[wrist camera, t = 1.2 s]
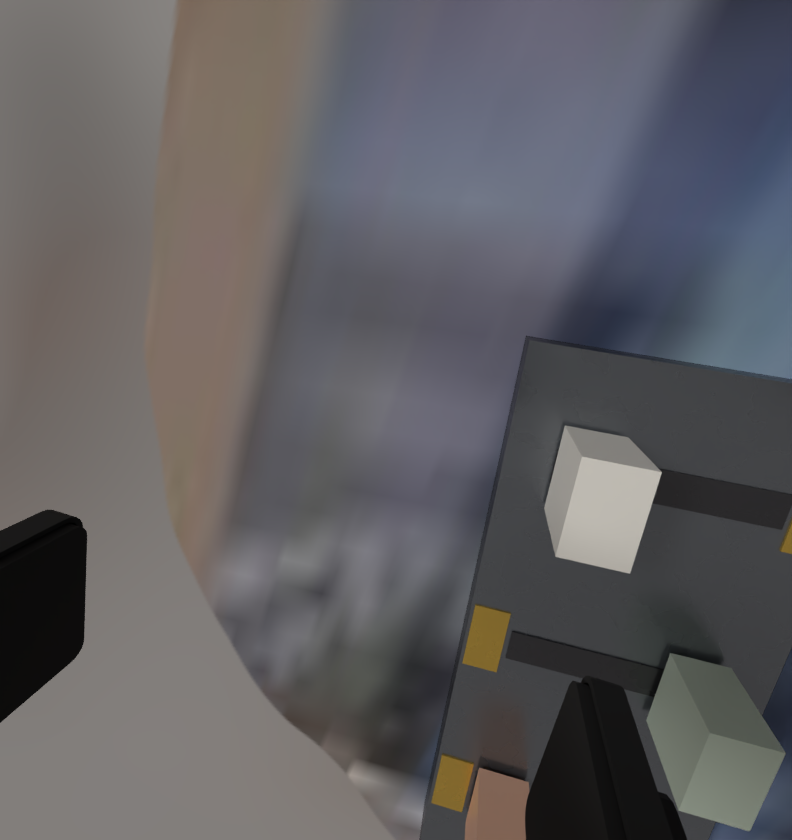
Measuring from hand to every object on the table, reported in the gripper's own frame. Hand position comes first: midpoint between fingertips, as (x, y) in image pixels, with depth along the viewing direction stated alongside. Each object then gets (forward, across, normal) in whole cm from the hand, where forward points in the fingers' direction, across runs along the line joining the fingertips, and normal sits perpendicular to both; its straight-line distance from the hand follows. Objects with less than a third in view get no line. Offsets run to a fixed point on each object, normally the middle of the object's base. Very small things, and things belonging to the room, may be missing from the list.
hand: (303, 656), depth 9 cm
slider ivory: (+18, -8, 0) cm, 20 cm away
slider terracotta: (+18, -9, +22) cm, 30 cm away
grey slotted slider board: (+21, -13, +11) cm, 27 cm away
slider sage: (+18, -17, +11) cm, 27 cm away
